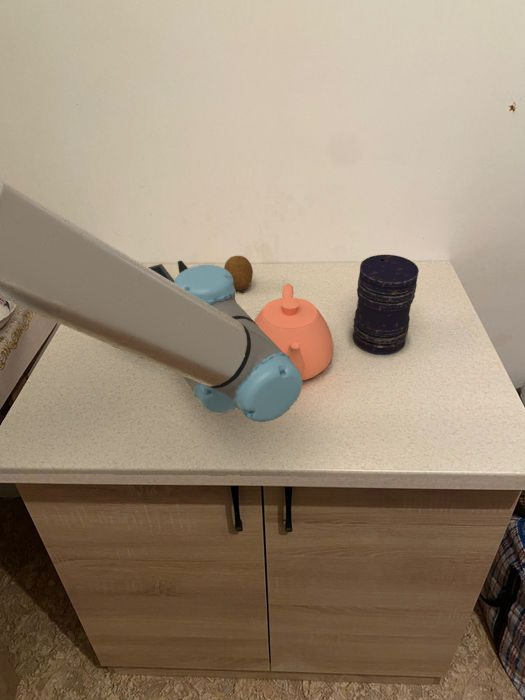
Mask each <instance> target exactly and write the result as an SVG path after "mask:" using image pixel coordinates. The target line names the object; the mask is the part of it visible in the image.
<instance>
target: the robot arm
mask: <svg viewBox="0 0 525 700" xmlns="http://www.w3.org/2000/svg"><path fill="white" fill-rule="evenodd" d="M177 266H178V273H179V274H178V275H177V276H175V278H174V283H173V282H172V281H170V280H168V279H166V278H165V277H163V276H161V275H160V274H158V273H156V272H155V271H153V270H151V269H150V268H148V267H149V266H146V265H145V264H143V263H141V262H139V261H138V260H136V259H134V258H133V257H131V256H129V255H128V254H126V253H125V252H123V251H121V250H120V249H118V248H116V247H115V246H112V245H111V244H109V243H108V242H106V241H104V240H102V239H101V238H99V237H97V236H95V235H94V234H92V233H91V232H89V231H87V230H86V229H84V228H82V227H81V226H79V225H77V224H75V223H73V221H70V220H69V219H67V218H65V217H64V216H62V215H60V214H58V213H57V212H55V211H53V210H52V209H50V208H48V206H45V205H43V204H42V203H40V202H38V201H36V200H35V199H33V198H32V197H30V196H28V195H26V194H25V193H23V192H22V191H20V190H18V189H16V188H14V187H13V186H11V185H10V184H8V183H6V182H4V181H3V180H2V179H1V178H0V300H3V301H5V302H8V303H10V304H13V305H15V306H18V307H19V308H22V309H25V310H27V311H29V312H32V313H34V314H37V315H39V316H41V317H43V318H46V319H48V320H51V321H52V322H54V323H57V324H59V325H62V326H65V327H67V328H69V329H72V330H74V331H77V332H79V333H81V334H82V335H83V334H84V335H86V336H88V337H90V338H93V339H95V340H97V341H100V342H103V343H105V344H107V345H109V346H112V347H114V348H116V349H119V350H121V351H123V352H126V353H128V354H130V355H133V356H136V357H138V358H140V359H142V360H144V361H146V362H149V363H152V364H154V365H157V366H159V367H162V368H163V369H166V370H168V371H171V372H173V373H175V374H177V375H180V376H182V377H184V380H185V381H186V382H187V384H188V386H189V388H190V389H191V391H192V392H193V396H194V397H195V398H196V399H197V401H198V402H199V403H200V405H202V407H203V408H204V409H205V410H206V411H208V412H210V413H212V414H217V415H221V414H227V413H228V412H229V413H230V412H232V411H235V410H239V411H240V412H241V413H242V414H243V415H244V416H245V418H247V419H249V420H250V421H252V422H255V423H256V422H257V423H264V422H271V421H274V420H276V419H279V418H280V417H282V416H283V415H285V414H286V413H287V412H288V411H290V410H291V407H292V406H293V405H294V404H295V403H296V402H297V401H298V399H299V398H300V395H301V392H302V389H303V381H302V377H301V374H300V372H299V370H298V369H297V368H296V366H295V365H294V364H293V362H292V361H291V360H290V359H289V356H288V355H287V354H286V353H285V354H284V353H283V352H282V351H281V350H280V349H279V347H278V346H277V345H276V344H275V343H274V342H273V341H272V340H271V339H270V338H269V337H268V336H267V335H266V334H265V333H264V332H263V331H262V330H261V329H260V328H259V327H258V326H257V324H256V323H255V322H254V321H255V320H253V319H252V317H250V316H249V315H250V314H248V313H247V312H246V311H245V310H244V309H243V308H242V306H240V305H239V303H238V302H237V300H236V293H237V290H236V289H235V288H234V283H233V277H232V275H231V274H230V273H229V272H228V271H227V270H226V269H224V267H221V266H218V265H214V264H199V265H196V266H191V267H188V266H187V265H186V264H185V263H184V262H183V260H178V261H177Z"/></svg>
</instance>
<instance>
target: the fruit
mask: <svg viewBox="0 0 525 700" xmlns="http://www.w3.org/2000/svg"><path fill="white" fill-rule="evenodd" d="M223 268H224V269H226V270H227V271H228V272H229V273H230V274H231V275H232V277H233V283H234V288H235V289H236V291H244V290H246V289H247V288H249V287H250V285H251V283H252V280H253V276H254V275H253V274H254V272H253V265H252V264H251V262H250V260H249V259H248V258H247V257H245V256H244V255H233V256H231V257H229V258H228V259H227V260H226V262H225V263H224V267H223Z"/></svg>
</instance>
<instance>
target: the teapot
mask: <svg viewBox="0 0 525 700" xmlns="http://www.w3.org/2000/svg"><path fill="white" fill-rule="evenodd" d="M281 296H282V297H281V298H277V299H273V300H271V301H269V302H268V303H267V304H265V306H263V307H262V308H261V310H260V312H259V313H258V314H257V316H256V318H255V319H254V320H253V321H254V322H255V323H256V324H257V326H258V327H259V328H260V329H261V330H262V331H263V332H264V333H265V334H266V335H267V336H268V337H269V338H270V339H271V340H272V341H273V342H274V343H275V344H276V345H277V346H278V347H279V349H280V350H281V351H282V352H283V353H284V354H285V353H286V354H287V355H288V356H289V359H290V360H291V361H292V362H293V364H294V365H295V366H296V368H297V369H298V370H299V372H300V374H301V377H302V382H303V381H307V380H309V379H312V378H314V377H316V376H317V375H319V374H321V372H323V371H325V369H327V367H328V366H329V364H330V363H331V360H332V358H333V355H334V341H333V337H332V336H333V335H332V332H331V329H330V328H329V325H328V323H327V321H326V320H325V318H324V316H323V315H322V314H321V312H320V310H319V309H318V308H317V307H316V305H314V304H313V303H312V302H310V301H309V300H307V299H304V298H300V297H294V287H293V285H292V284H290V283H285V284H284V285H283V287H282V295H281Z"/></svg>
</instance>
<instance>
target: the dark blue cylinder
mask: <svg viewBox="0 0 525 700" xmlns="http://www.w3.org/2000/svg"><path fill="white" fill-rule="evenodd" d="M419 270H420V269H419V267H418V266H417V264H416V263H415V262H414V261H412V260H410V259H409V258H406V257H403V256H400V255H395V254H376V255H372V256H369V257H367V258H364V259H363V260H362V261H361V263H360V265H359V274H358V278H357V288H356V293H357V305H356V309H355V311H354V318H353V323H352V324H353V325H352V327H353V329H352V330H353V332H352V342H353V343H354V345H355V346H356V347H357V348H358V349H360V350H361V351H364V352H365V353H368V354H372V355H377V356H389V355H394V354H397V353H398V352H400V351H401V350H403V348H404V347H405V346H406V341H407V340H406V338H407V335H408V333H409V328H410V319H411V318H410V317H411V316H410V312H411V308H412V304H413V302H414V299H415V297H416V291H417V290H416V289H417V285H418V284H417V283H418V276H419Z"/></svg>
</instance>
